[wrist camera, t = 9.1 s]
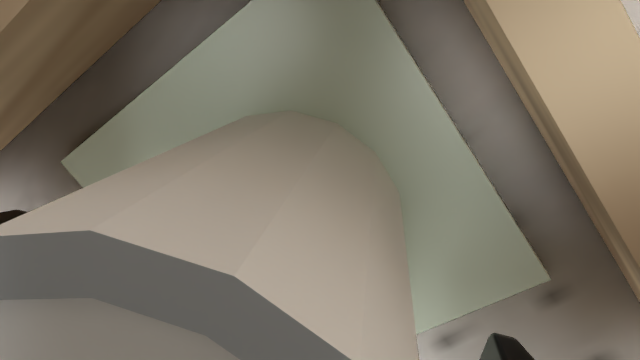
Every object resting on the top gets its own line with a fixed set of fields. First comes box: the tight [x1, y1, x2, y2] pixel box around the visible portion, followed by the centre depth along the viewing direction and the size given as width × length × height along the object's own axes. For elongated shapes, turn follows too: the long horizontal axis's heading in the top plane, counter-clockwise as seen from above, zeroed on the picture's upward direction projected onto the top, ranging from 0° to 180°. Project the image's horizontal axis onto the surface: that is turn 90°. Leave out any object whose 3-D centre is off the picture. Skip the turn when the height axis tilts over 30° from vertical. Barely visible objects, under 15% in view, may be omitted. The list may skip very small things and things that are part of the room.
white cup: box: [0, 110, 419, 360], centre depth 8 cm, size 7×7×7 cm
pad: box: [61, 0, 551, 335], centre depth 12 cm, size 9×9×1 cm
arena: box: [0, 0, 640, 302], centre depth 11 cm, size 18×18×4 cm
